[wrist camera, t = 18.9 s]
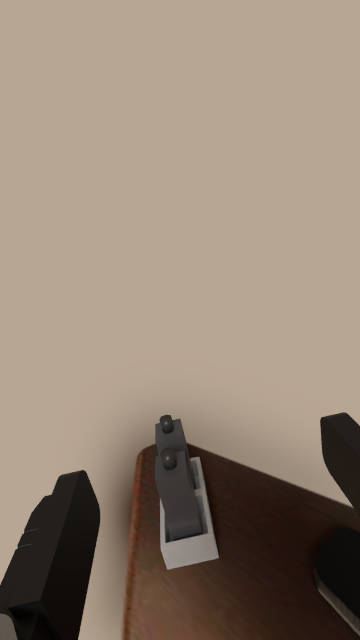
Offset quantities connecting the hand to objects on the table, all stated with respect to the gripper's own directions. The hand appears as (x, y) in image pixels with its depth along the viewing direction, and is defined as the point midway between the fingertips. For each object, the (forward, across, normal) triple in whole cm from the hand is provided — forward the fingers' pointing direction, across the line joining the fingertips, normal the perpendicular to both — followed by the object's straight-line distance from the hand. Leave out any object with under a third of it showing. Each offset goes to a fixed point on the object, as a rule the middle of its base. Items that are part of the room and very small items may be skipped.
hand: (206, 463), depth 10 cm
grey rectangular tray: (+27, +5, +35) cm, 44 cm away
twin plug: (+30, +5, +34) cm, 46 cm away
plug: (+23, +5, +34) cm, 42 cm away
